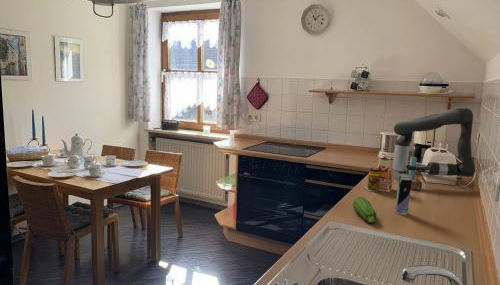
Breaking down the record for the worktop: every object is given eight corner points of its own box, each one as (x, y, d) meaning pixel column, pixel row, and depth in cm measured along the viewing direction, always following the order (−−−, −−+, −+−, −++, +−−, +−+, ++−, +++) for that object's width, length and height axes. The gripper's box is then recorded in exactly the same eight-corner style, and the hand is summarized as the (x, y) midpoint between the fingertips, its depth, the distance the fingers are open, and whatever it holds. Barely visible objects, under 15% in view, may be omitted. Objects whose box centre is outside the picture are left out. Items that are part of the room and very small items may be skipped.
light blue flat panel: (401, 179, 234) (404, 153, 232) (406, 179, 234) (409, 153, 232) (410, 186, 219) (414, 158, 217) (416, 186, 219) (419, 159, 217)
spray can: (401, 215, 174) (406, 172, 170) (392, 211, 179) (397, 169, 175) (410, 214, 176) (415, 172, 173) (401, 210, 181) (406, 169, 177)
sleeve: (393, 177, 242) (394, 170, 241) (403, 178, 242) (404, 171, 241) (400, 182, 231) (400, 175, 231) (410, 182, 231) (411, 175, 231)
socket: (405, 186, 223) (406, 178, 222) (416, 187, 223) (417, 179, 222) (409, 189, 217) (410, 181, 216) (421, 190, 217) (422, 182, 216)
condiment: (369, 191, 209) (371, 170, 207) (363, 187, 217) (365, 166, 215) (382, 191, 210) (384, 170, 208) (375, 187, 218) (377, 166, 216)
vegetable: (363, 192, 178) (377, 207, 159) (368, 205, 180) (384, 222, 160) (348, 198, 179) (361, 214, 159) (354, 211, 180) (367, 229, 160)
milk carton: (389, 192, 210) (393, 156, 206) (371, 189, 214) (375, 154, 211) (392, 188, 217) (396, 153, 214) (375, 185, 222) (379, 151, 218)
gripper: (432, 160, 228) (403, 158, 228) (443, 165, 215) (412, 163, 215) (431, 172, 230) (402, 170, 230) (442, 178, 216) (411, 176, 216)
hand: (407, 167), depth 222 cm, fingers closed on light blue flat panel, 2 cm apart
